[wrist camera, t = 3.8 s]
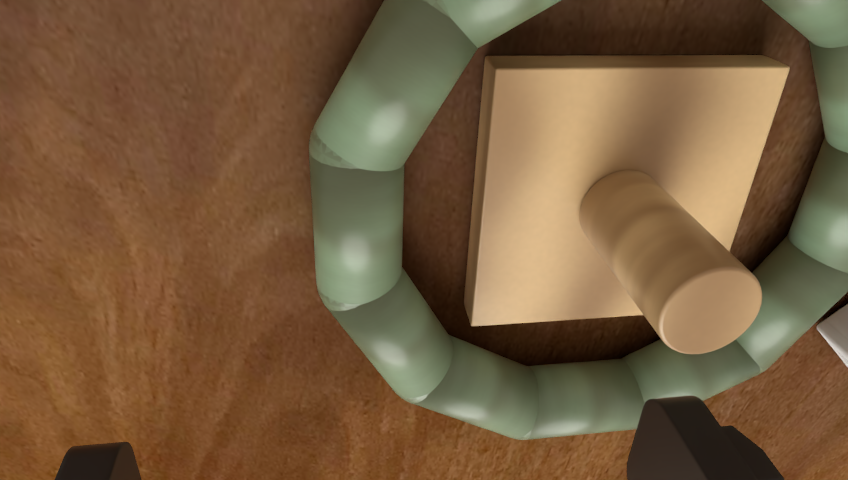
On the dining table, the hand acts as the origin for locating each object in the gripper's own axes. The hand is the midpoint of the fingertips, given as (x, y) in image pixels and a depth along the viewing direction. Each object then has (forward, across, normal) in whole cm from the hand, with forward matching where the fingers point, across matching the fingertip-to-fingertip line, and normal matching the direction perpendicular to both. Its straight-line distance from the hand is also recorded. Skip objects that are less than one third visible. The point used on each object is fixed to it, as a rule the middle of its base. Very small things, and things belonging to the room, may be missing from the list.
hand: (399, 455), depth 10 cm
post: (+10, -7, 0) cm, 12 cm away
